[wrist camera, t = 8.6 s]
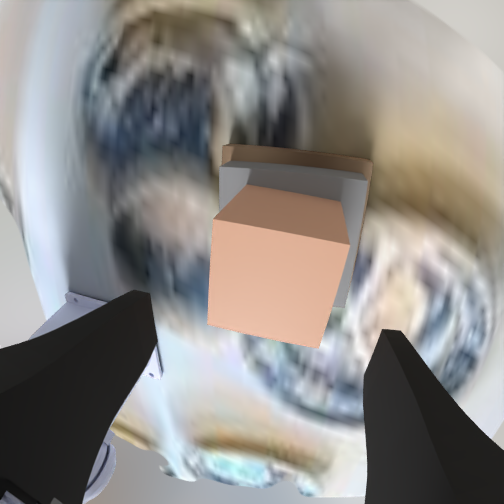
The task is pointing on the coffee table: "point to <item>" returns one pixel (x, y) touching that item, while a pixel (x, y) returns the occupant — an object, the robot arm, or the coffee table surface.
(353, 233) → the gray slab
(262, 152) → the walnut slab
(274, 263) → the terracotta block
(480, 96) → the coffee table surface
